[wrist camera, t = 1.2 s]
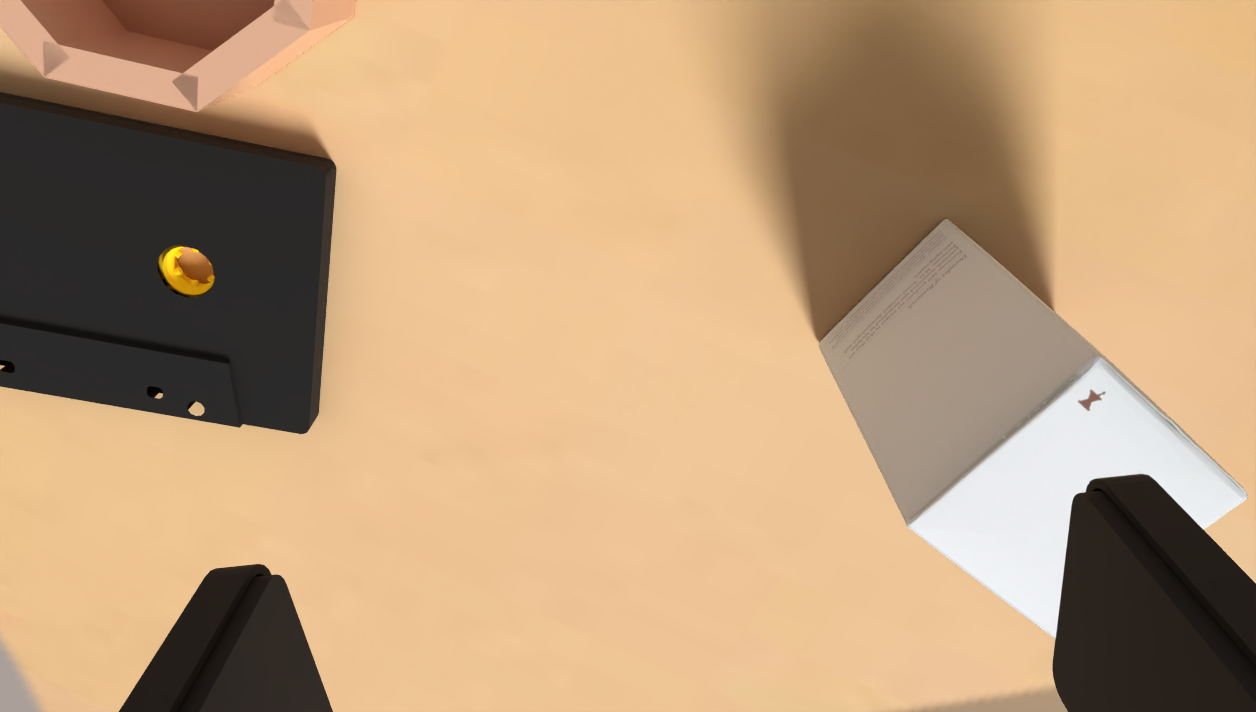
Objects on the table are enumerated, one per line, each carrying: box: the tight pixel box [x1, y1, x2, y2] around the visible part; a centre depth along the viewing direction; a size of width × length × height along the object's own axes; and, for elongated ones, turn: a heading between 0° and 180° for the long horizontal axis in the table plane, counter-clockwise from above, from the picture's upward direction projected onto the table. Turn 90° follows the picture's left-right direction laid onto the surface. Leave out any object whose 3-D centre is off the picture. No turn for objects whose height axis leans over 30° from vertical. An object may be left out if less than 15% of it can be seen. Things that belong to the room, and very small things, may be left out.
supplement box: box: [819, 219, 1248, 638], centre depth 31 cm, size 7×7×13 cm
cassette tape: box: [0, 92, 336, 434], centre depth 35 cm, size 18×12×2 cm, turn 78°
